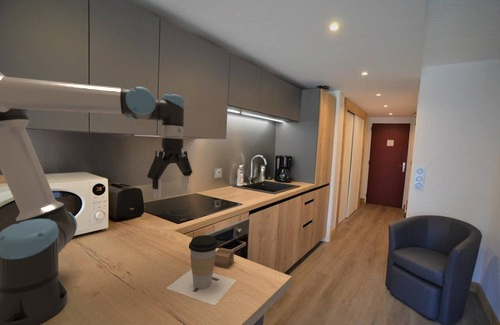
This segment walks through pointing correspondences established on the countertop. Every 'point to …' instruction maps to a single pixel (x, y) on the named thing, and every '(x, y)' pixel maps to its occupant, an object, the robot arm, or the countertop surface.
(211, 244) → the coffee cup
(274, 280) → the countertop surface
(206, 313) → the countertop surface
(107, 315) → the countertop surface
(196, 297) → the letter sheet
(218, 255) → the walnut block
